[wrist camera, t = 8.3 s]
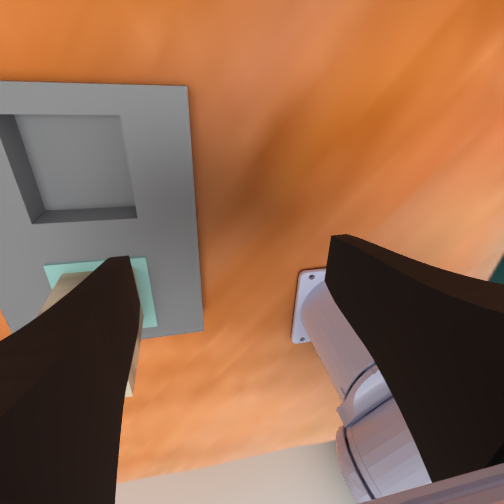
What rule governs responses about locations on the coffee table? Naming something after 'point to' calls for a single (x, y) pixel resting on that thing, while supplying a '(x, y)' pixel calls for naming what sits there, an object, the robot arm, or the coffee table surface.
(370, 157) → the coffee table surface
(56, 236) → the pocket board
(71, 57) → the coffee table surface
